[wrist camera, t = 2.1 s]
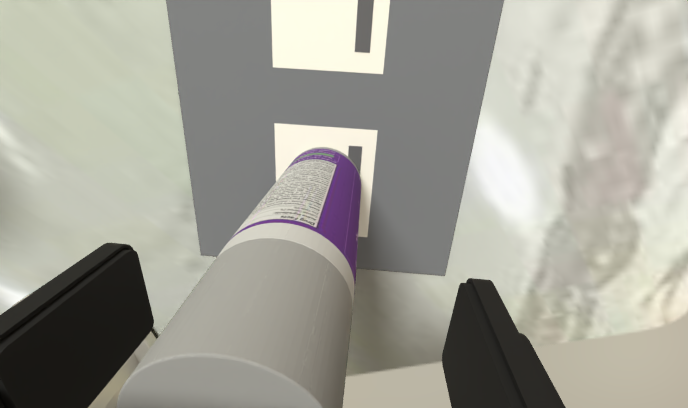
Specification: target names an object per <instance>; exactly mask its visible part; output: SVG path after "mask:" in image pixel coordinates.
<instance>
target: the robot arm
mask: <svg viewBox="0 0 688 408" xmlns="http://www.w3.org/2000/svg"><path fill="white" fill-rule="evenodd" d="M153 323H154V320H153V315H152V311H151V307H150V303H149V299H148V295H147V291H146V286H145V282H144V278H143V274H142V270H141V266H140V262H139V258H138V254H137V252H136V251H134V250H133V248H132V247H131V246H130V245H127V244H117V243H106V244H104V245H102V246H101V247H99V248H98V249H96V250H95V251H93V252H92V253H90V254H89V255H87V256H86V257H85V258H83V259H82V260H80V261H79V262H77V263H76V264H74V265H73V266H71V267H70V268H68V269H67V270H66V271H64V272H63V273H61V274H60V275H58V276H57V277H55V278H54V279H52V280H51V281H49V282H48V283H47V284H45V285H44V286H42V287H41V288H39V289H38V290H36V291H35V292H33V293H31V294H29V295H27V296H26V297H24V298H23V299H21V300H20V301H19V302H17V303H16V304H14V305H13V306H12V307H11V308H10V309H8V310H7V311H6V312H4V313H3V314H1V315H0V408H117V401H118V396H119V393H120V391H121V388H122V387H123V385H124V383H125V382H126V380H127V379H128V378H129V376H130V375H131V374H132V372H133V371H134V370H135V368H136V367H137V365H138V364H139V363H140V361H141V360H142V359H143V357H144V356H145V355H146V353H147V352H148V350H149V349H150V348H151V346H152V345H153V344H154V342H155V341H156V340H157V339H156V337H155V336H154V334H153V333H152V332H151V330H152V328H153ZM442 363H443V369H444V373H445V378H446V383H447V388H448V392H449V397H450V402H451V406H452V408H565V406H564V404H563V402H562V400H561V398H560V396H559V395H558V393H557V391H556V389H555V387H554V386H553V384H552V382H551V380H550V378H549V376H548V374H547V372H546V371H545V369H544V367H543V365H542V363H541V361H540V360H539V358H538V356H537V354H536V352H535V350H534V348H533V347H532V345H531V343H530V341H529V340H528V338H527V337H526V336H525V335H523V334H521V333H519V332H518V330H517V328H516V326H515V324H514V323H513V321H512V319H511V317H510V315H509V313H508V311H507V309H506V307H505V305H504V303H503V301H502V299H501V297H500V296H499V294H498V292H497V290H496V288H495V286H494V284H493V282H492V281H490V280H482V279H472V278H469V279H468V280H467V282H466V283H461V284H460V286H459V289H458V293H457V297H456V301H455V305H454V309H453V313H452V317H451V321H450V325H449V329H448V333H447V338H446V342H445V346H444V350H443V355H442Z"/></svg>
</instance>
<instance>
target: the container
mask: <svg viewBox="0 0 688 408" xmlns="http://www.w3.org/2000/svg"><path fill="white" fill-rule="evenodd" d="M360 200H361V177H360V174H359V171H358V169H357V167H356V165H355V164H354V162H353V161H352V160H351V159H350V158H349V157H348V156H347V155H345V154H344V153H342V152H340V151H338V150H336V149H333V148H328V147H316V148H312V149H309V150H306V151H304V152H303V153H301V154H300V155H298V156H297V157H296V158H295V159H294V160H293V162H292V163H291V164H290V165H289V167H288V168H287V169H286V170H285V171H284V173H283V174H282V175H281V176H280V178H279V179H278V180H277V181H276V183H275V184H274V185H273V186H272V188H271V189H270V190H269V191H268V193H267V194H266V195H265V196H264V198H263V199H262V200H261V201H260V203H259V204H258V205H257V206H256V208H255V209H254V210H253V211H252V213H251V214H250V215H249V216H248V218H247V219H246V220H245V221H244V223H243V224H242V225H241V226H240V228H239V229H238V230H237V231H236V233H235V234H234V235H233V236H232V238H231V239H230V240H229V241H228V243H227V244H226V245H225V247H224V248H223V249H222V251H221V252H220V254H219V255H218V256H217V258H216V259H215V261H214V262H213V263H212V265H211V266H210V267H209V269H208V270H207V271H206V273H205V274H204V275H203V277H202V278H201V280H200V281H199V282H198V284H197V285H196V286H195V288H194V289H193V290H192V292H191V293H190V295H189V296H188V297H187V299H186V300H185V301H184V303H183V304H182V305H181V307H180V308H179V310H178V311H177V312H176V314H175V315H174V316H173V318H172V319H171V320H170V322H169V323H168V325H167V326H166V327H165V329H164V330H163V331H162V333H161V334H160V335H159V337H158V338H157V340H156V341H155V342H154V344H153V345H152V346H151V348H150V349H149V350H148V352H147V353H146V355H145V356H144V357H143V359H142V360H141V361H140V363H139V364H138V365H137V367H136V368H135V370H134V371H133V372H132V374H131V375H130V376H129V378H128V379H127V380H126V382H125V383H124V385H123V387H122V388H121V391H120V393H119V396H118V401H117V408H342V405H343V395H344V387H345V377H346V368H347V358H348V349H349V339H350V330H351V320H352V311H353V302H354V294H355V281H356V264H357V248H358V232H359V216H360Z"/></svg>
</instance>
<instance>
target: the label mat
mask: <svg viewBox="0 0 688 408" xmlns="http://www.w3.org/2000/svg"><path fill="white" fill-rule="evenodd" d="M503 2H504V0H166V3H167V11H168V18H169V25H170V33H171V40H172V47H173V55H174V62H175V69H176V76H177V84H178V91H179V98H180V106H181V113H182V120H183V128H184V135H185V142H186V150H187V157H188V164H189V171H190V179H191V186H192V193H193V201H194V208H195V215H196V223H197V230H198V237H199V244H200V252H201V255H207V256H218V255H219V254H220V252H221V251H222V249H223V248H224V247H225V245H226V244H227V243H228V241H229V240H230V239H231V238H232V236H233V235H234V234H235V233H236V231H237V230H238V229H239V228H240V226H241V225H242V224H243V223H244V221H245V220H246V219H247V218H248V216H249V215H250V214H251V213H252V211H253V210H254V209H255V208H256V206H257V205H258V204H259V203H260V201H261V200H262V199H263V198H264V196H265V195H266V194H267V193H268V191H269V190H270V189H271V188H272V186H273V185H274V184H275V183H276V181H277V180H278V179H279V178H280V176H281V175H282V174H283V173H284V171H285V170H286V169H287V168H288V167H289V165H290V164H291V163H292V162H293V160H294V159H295V158H296V157H297V156H298V155H300V154H301V153H303V152H304V151H306V150H309V149H312V148H316V147H328V148H333V149H336V150H338V151H340V152H342V153H344V154H345V155H347V156H348V157H349V158H350V159H351V160H352V161H353V162H354V164H355V165H356V167H357V169H358V171H359V174H360V177H361V200H360V216H359V232H358V248H357V264H356V268H359V269H371V270H383V271H394V272H406V273H418V274H430V275H441V276H445V272H446V267H447V263H448V258H449V253H450V249H451V244H452V239H453V235H454V230H455V225H456V221H457V216H458V212H459V207H460V202H461V198H462V193H463V188H464V184H465V179H466V174H467V170H468V165H469V160H470V156H471V151H472V146H473V142H474V137H475V132H476V128H477V123H478V118H479V114H480V109H481V104H482V100H483V95H484V90H485V86H486V81H487V76H488V72H489V67H490V62H491V58H492V53H493V48H494V44H495V39H496V34H497V30H498V25H499V20H500V16H501V11H502V6H503Z"/></svg>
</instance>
